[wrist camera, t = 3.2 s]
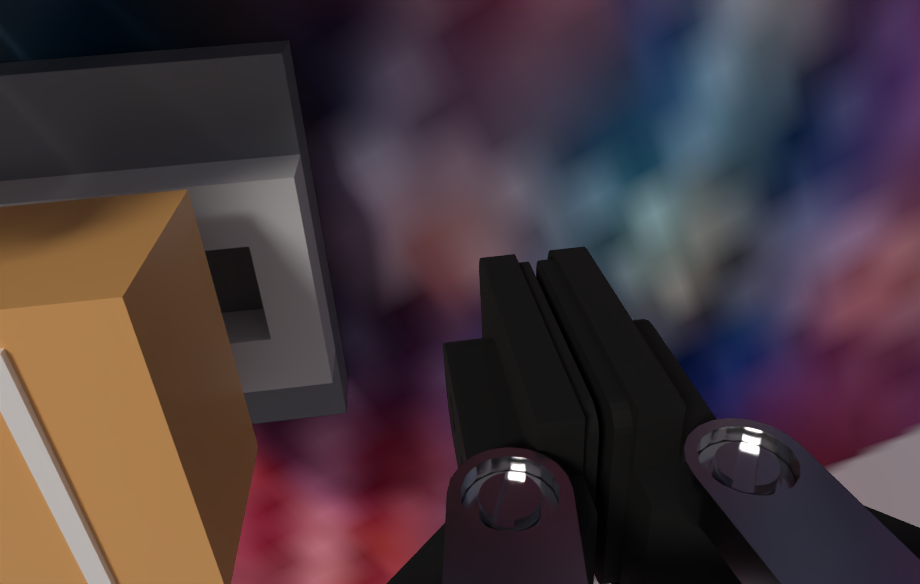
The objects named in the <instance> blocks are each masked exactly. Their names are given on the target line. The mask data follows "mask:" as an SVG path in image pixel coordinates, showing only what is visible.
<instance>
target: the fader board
mask: <svg viewBox="0 0 920 584" xmlns="http://www.w3.org/2000/svg"><path fill="white" fill-rule="evenodd" d="M177 190H188V192H189V196H190V199H191V203H192V207H193V210H194V214H195V218H196V221H197V225H198V229H199V232H200V236H201V240H202V243H203V247H204V251H205V254H206V258H207V262H208V265H209V269H210V273H211V276H212V280H213V284H214V287H215V291H216V295H217V298H218V302H219V306H220V309H221V313H222V317H223V320H224V324H225V328H226V331H227V335H228V339H229V342H230V346H231V350H232V353H233V357H234V361H235V364H236V368H237V371H238V375H239V379H240V382H241V386H242V390H243V393H244V397H245V401H246V404H247V408H248V412H249V415H250V419H251V423H252V424H257V423H265V422H274V421H282V420H291V419H300V418H308V417H317V416H326V415H334V414H343V413H347V395H348V378H347V372H346V366H345V360H344V355H343V349H342V343H341V337H340V331H339V326H338V320H337V314H336V308H335V303H334V297H333V291H332V285H331V280H330V274H329V268H328V262H327V256H326V251H325V245H324V239H323V233H322V228H321V222H320V216H319V210H318V205H317V199H316V193H315V187H314V181H313V176H312V170H311V164H310V158H309V153H308V147H307V141H306V135H305V129H304V124H303V118H302V112H301V106H300V101H299V95H298V89H297V83H296V78H295V72H294V66H293V60H292V54H291V49H290V43H289V40H285V41H272V42H260V43H247V44H234V45H222V46H209V47H196V48H183V49H171V50H158V51H145V52H133V53H120V54H107V55H95V56H82V57H69V58H56V59H44V60H31V61H18V62H6V63H0V207H4V206H14V205H25V204H36V203H47V202H58V201H69V200H79V199H90V198H101V197H112V196H123V195H134V194H144V193H155V192H166V191H177Z"/></svg>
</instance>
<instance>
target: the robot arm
mask: <svg viewBox="0 0 920 584" xmlns="http://www.w3.org/2000/svg"><path fill="white" fill-rule="evenodd" d="M479 275H480V296H481V317H482V338H481V339H473V340H465V341H456V342H448V343H444V344H443V352H444V365H445V378H446V389H447V398H448V407H449V415H450V422H451V429H452V436H453V442H454V447H455V453H456V459H457V465H458V469H457V470H456V472H455V473H454V474H453V476H452V477H451V478H450V482H449V486H448V490H447V498H446V518H445V523H444V525H443V526H442V527H441V528H440V529H439V530H438V531H437V532H436V533H435V534H434V535H433V536H432V537H431V538H430V539H429V540H428V541H427V542H426V543H425V544H424V545H423V546H422V547H421V549H420V550H419V551H418V552H417V553H416V554H415V555H414V556H413V557H412V558H411V559H410V560H409V561H408V562H407V563H406V564H405V565H404V566H403V567H402V568H401V569H400V570H399V571H398V573H397V574H396V575H395V576H394V577H393V578H392V579H391V580H390V581H389V582H388V583H387V584H593V581H594V574H595V576H596V579H597V581H598V582H599V584H609V583H611V584H920V528H919V527H916V526H914V525H911V524H909V523H906V522H904V521H901V520H899V519H896V518H894V517H891V516H889V515H886V514H884V513H881V512H879V511H876V510H874V509H871V508H869V507H866V506H864V505H862V504H861V503H860V502H859V501H858V500H857V499H856V498H855V497H854V496H853V495H852V494H851V493H850V492H849V491H848V490H847V489H846V488H845V487H844V486H843V485H842V484H841V483H840V482H839V481H838V480H837V479H835V477H833V476H832V475H831V474H830V473H829V472H828V471H827V470H826V469H825V468H824V467H823V466H822V465H821V464H820V463H819V462H818V461H817V460H816V459H815V458H814V457H813V456H812V455H811V454H810V453H809V452H808V451H807V450H806V449H804V448H803V447H802V446H801V445H800V444H799V443H798V442H796V441H795V440H794V439H792V438H791V437H790V436H788V435H787V434H786V433H784V432H782V431H780V430H778V429H776V428H773V427H771V426H769V425H767V424H763V423H759V422H756V421H752V420H748V419H736V418H725V419H716V418H715V416H714V415H713V413H712V412H711V410H710V409H709V408H708V406H707V405H706V403H705V402H704V400H703V399H702V397H701V396H700V394H699V393H698V391H697V390H696V388H695V387H694V385H693V384H692V382H691V381H690V379H689V378H688V377H687V375H686V374H685V372H684V371H683V369H682V368H681V366H680V365H679V363H678V362H677V360H676V359H675V357H674V356H673V354H672V353H671V351H670V350H669V348H668V347H667V346H666V344H665V343H664V341H663V340H662V338H661V337H660V335H659V334H658V332H657V331H656V329H655V328H654V326H653V325H652V324H651V323H650V322H649V321H648V320H644V319H642V320H633V321H632V319H631V318H630V316H629V314H628V313H627V311H626V310H625V308H624V307H623V305H622V303H621V302H620V300H619V299H618V297H617V296H616V294H615V292H614V291H613V289H612V288H611V286H610V285H609V283H608V281H607V280H606V278H605V277H604V275H603V274H602V272H601V270H600V269H599V267H598V266H597V264H596V263H595V261H594V259H593V258H592V256H591V255H590V253H589V252H588V250H587V249H586V248H585V247H577V248H568V249H559V250H550V251H549V253H548V260H540V261H538V262H537V268H536V276H535V274H534V272H533V270H532V267H531V265H530V263H529V262H522V263H518V260H517V258H516V256H515V255H514V254H513V255H504V256H495V257H485V258H480V261H479Z"/></svg>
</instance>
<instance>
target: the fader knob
mask: <svg viewBox="0 0 920 584" xmlns="http://www.w3.org/2000/svg"><path fill="white" fill-rule="evenodd" d="M257 450H258V445H257V441H256V437H255V434H254V430H253V426H252V423H251V419H250V415H249V412H248V408H247V404H246V401H245V397H244V393H243V390H242V386H241V382H240V379H239V375H238V371H237V368H236V364H235V361H234V357H233V353H232V350H231V346H230V342H229V339H228V335H227V331H226V328H225V324H224V320H223V317H222V313H221V309H220V306H219V302H218V298H217V295H216V291H215V287H214V284H213V280H212V276H211V273H210V269H209V265H208V262H207V258H206V254H205V251H204V247H203V243H202V240H201V236H200V232H199V229H198V225H197V221H196V218H195V214H194V210H193V207H192V203H191V199H190V196H189V192H188V190H177V191H166V192H155V193H144V194H134V195H123V196H112V197H101V198H90V199H79V200H69V201H58V202H47V203H36V204H25V205H14V206H4V207H0V584H231V579H232V575H233V570H234V565H235V560H236V555H237V550H238V545H239V540H240V535H241V530H242V525H243V520H244V515H245V510H246V505H247V500H248V495H249V490H250V485H251V480H252V475H253V470H254V465H255V460H256V455H257Z"/></svg>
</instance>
